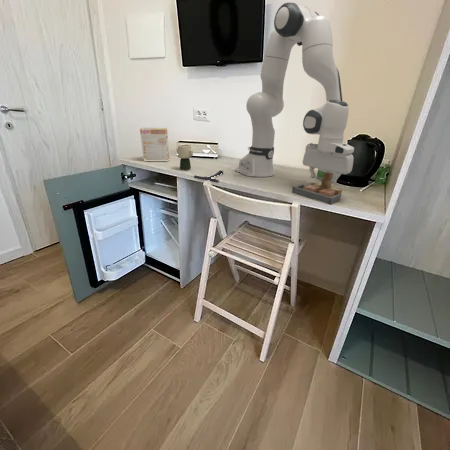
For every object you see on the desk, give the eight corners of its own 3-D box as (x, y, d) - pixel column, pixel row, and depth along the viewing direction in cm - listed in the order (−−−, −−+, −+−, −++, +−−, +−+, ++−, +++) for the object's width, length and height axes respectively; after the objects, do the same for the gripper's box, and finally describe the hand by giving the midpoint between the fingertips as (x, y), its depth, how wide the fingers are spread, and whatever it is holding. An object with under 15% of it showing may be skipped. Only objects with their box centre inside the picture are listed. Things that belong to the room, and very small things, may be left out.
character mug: (197, 169, 146) (196, 145, 140) (189, 172, 140) (188, 147, 135) (181, 166, 151) (180, 143, 145) (173, 169, 145) (172, 145, 140)
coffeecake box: (169, 159, 168) (167, 127, 160) (167, 162, 162) (165, 128, 153) (146, 159, 168) (142, 127, 159) (143, 161, 161) (139, 128, 153)
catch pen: (291, 192, 112) (292, 187, 111) (301, 189, 116) (302, 184, 115) (330, 204, 100) (331, 198, 98) (339, 200, 104) (340, 194, 103)
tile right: (317, 197, 108) (319, 190, 106) (323, 195, 110) (325, 188, 109) (327, 200, 104) (329, 193, 103) (333, 198, 107) (335, 191, 106)
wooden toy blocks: (309, 190, 116) (312, 170, 112) (313, 189, 117) (316, 169, 114) (336, 198, 107) (341, 176, 103) (340, 196, 109) (345, 175, 105)
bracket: (233, 177, 135) (233, 171, 134) (217, 183, 124) (217, 178, 122) (211, 173, 142) (211, 168, 141) (193, 179, 131) (193, 173, 129)
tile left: (303, 193, 112) (305, 186, 111) (309, 191, 115) (310, 184, 113) (313, 195, 109) (314, 189, 108) (318, 193, 112) (320, 187, 110)
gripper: (302, 143, 107) (297, 175, 113) (350, 150, 93) (342, 187, 99) (311, 141, 111) (305, 173, 117) (358, 149, 97) (350, 184, 103)
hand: (322, 180), depth 108 cm, fingers open, 8 cm apart
